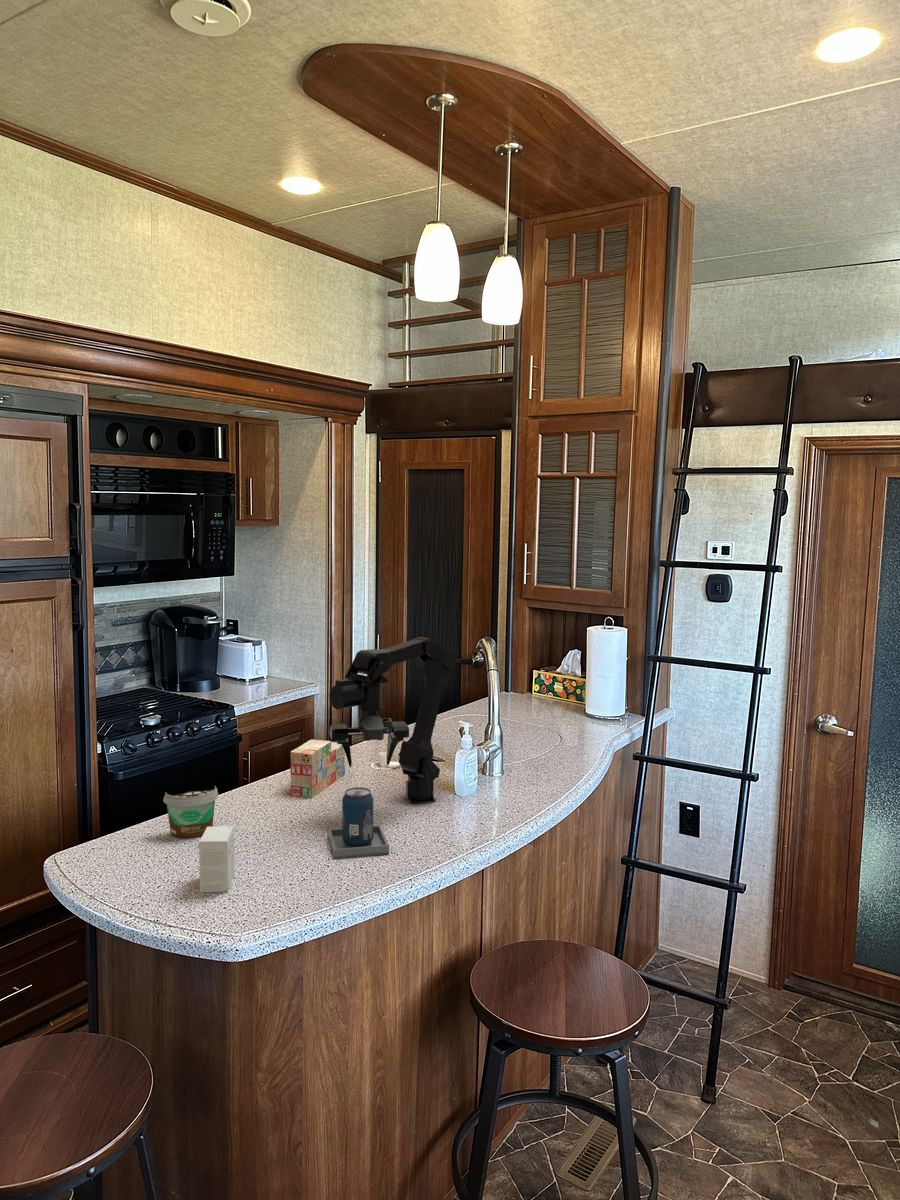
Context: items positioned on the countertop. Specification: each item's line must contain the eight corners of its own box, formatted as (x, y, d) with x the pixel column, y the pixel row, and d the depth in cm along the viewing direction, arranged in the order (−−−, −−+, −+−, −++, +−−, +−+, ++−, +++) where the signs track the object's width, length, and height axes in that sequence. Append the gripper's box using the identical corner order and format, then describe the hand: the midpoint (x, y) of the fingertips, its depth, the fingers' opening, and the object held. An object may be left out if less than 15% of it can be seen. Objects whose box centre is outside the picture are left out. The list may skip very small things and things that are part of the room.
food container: (168, 844, 186) (167, 801, 185) (163, 834, 192) (162, 792, 190) (224, 835, 192) (223, 793, 191) (218, 826, 197) (217, 785, 196)
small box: (207, 875, 171) (206, 825, 170) (235, 874, 171) (234, 825, 170) (199, 893, 163) (198, 841, 162) (228, 892, 163) (227, 840, 162)
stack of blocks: (325, 772, 239) (324, 730, 238) (345, 774, 237) (345, 732, 236) (290, 796, 218) (289, 750, 217) (312, 799, 217) (311, 753, 215)
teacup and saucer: (404, 769, 244) (404, 755, 244) (380, 773, 240) (380, 759, 239) (389, 761, 251) (389, 748, 251) (365, 765, 247) (365, 752, 247)
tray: (380, 833, 194) (380, 825, 194) (389, 854, 182) (389, 845, 182) (328, 837, 191) (328, 829, 191) (334, 858, 180) (334, 850, 179)
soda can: (347, 836, 191) (347, 785, 190) (376, 838, 190) (376, 787, 189) (338, 848, 184) (338, 795, 183) (368, 850, 183) (369, 797, 182)
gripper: (334, 712, 191) (334, 778, 193) (414, 708, 196) (413, 773, 197) (329, 701, 202) (329, 763, 204) (405, 698, 207) (404, 759, 208)
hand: (369, 765), depth 203 cm, fingers open, 9 cm apart
